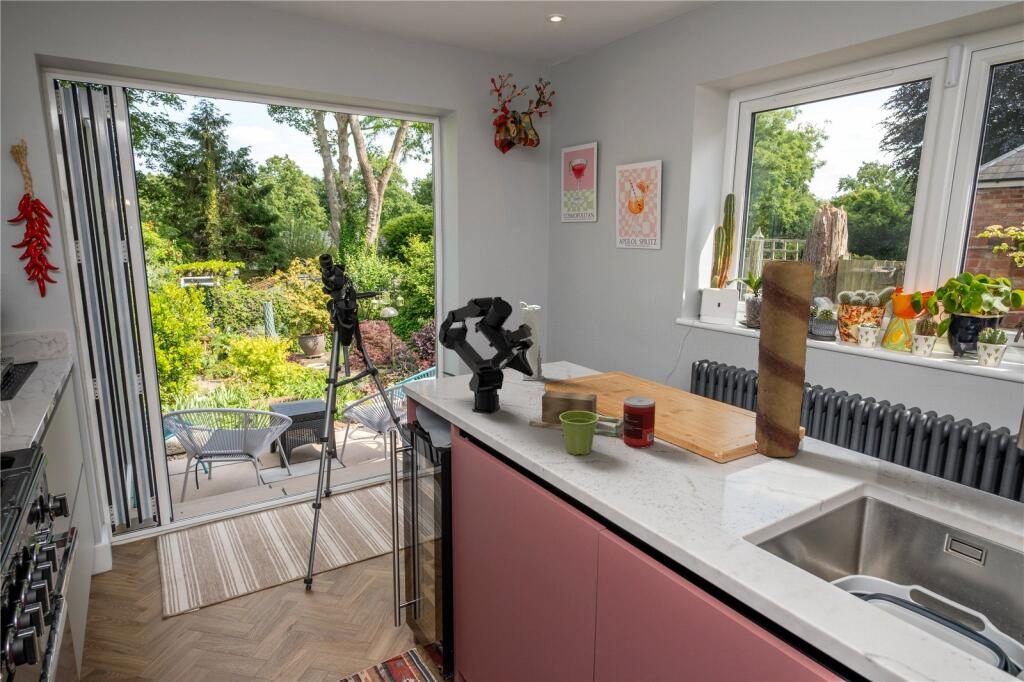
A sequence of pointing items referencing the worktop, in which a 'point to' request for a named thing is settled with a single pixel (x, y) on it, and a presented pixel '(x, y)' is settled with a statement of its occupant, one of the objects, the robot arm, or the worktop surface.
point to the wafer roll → (782, 355)
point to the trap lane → (597, 431)
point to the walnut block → (565, 404)
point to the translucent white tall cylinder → (533, 355)
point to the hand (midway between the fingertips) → (532, 375)
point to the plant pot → (578, 431)
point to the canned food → (638, 421)
